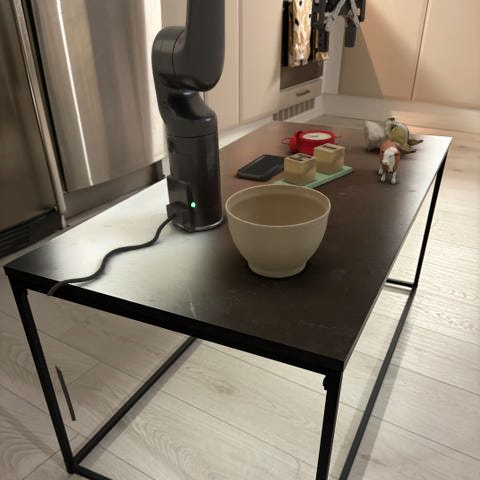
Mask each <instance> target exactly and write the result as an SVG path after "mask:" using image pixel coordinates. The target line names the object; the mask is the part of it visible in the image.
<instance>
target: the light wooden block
mask: <svg viewBox="0 0 480 480" xmlns="http://www.w3.org/2000/svg"><path fill="white" fill-rule="evenodd" d="M285 157H286V158H284V168H283V179H284V180H285V181H288V182H291V183H294V184H297V185H300V186H301V185H303V184H306V183H308V182H311V181H314V180H315V177H316V159H317V158H316V157H314V156H313V155H305V154H301V153H299V152H298V153H294V154H292V155H289V156H285Z"/></svg>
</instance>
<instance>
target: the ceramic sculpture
mask: <svg viewBox="0 0 480 480" xmlns="http://www.w3.org/2000/svg"><path fill="white" fill-rule="evenodd" d="M363 137H364V140H365V144H366V148H367V150H368V151H372V150H374V149H380V148H381V145H382V144H383V143H384V142H386V141H387V140H390V141H392V142H393V143H394V144H395V145H396V147H397V149H398V151H399V153H400V156H403V155H405V156H406V155H409V154H415V153H417V150H416V149H414V148H412V147H414V146H416V145H419V144H422V143H424V139H416V138H413V137H411V136H410V129H409V127H408V126H407V125H406V124H405V123H403V122H396V118H395V117H388V118H386V119H384V120H383V121H382V122H381V123H376V122H374V121H371V120H368V119H365V120H364V122H363Z"/></svg>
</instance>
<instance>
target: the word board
mask: <svg viewBox="0 0 480 480" xmlns="http://www.w3.org/2000/svg"><path fill="white" fill-rule="evenodd" d="M353 170H354V169H353V167H351V166H347V165H344V164H343V169H342V170H339V171H336V172H334V173H331V174H327V173H324V172H320V171H317V170H316V177H315V180H314V181H311V182H308V183H306V184H303V185H301V186H302V187H307V188H311V189H314V188H316V187H319V186H322V185H324V184H326V183H329V182H331V181H334V180H336V179H339V178H341V177H343V176H346V175H349V174H351V173H353ZM271 184H289V185H297V184H294V183H291V182H288V181H285V180H284V178H282V179H279V180H276V181H274V182H272V183H271ZM297 186H300V185H297Z"/></svg>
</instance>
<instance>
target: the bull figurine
mask: <svg viewBox="0 0 480 480" xmlns="http://www.w3.org/2000/svg"><path fill="white" fill-rule="evenodd" d="M400 159H401V155H400V153H399V151H398V149H397V147H396V145H395V144H394V143H393V142H392V141H390V140H387V141H386V142H384V143H383V144H382V145H381V148H379V162H380V163H379V164H380V165H379V166H380V167H379V170H378V173H377V174H378V175H381V178H380V182H385V181H386V173H387V172H388V173H391V175H392V177H391V181H390V183H391V184H397V181H396V175H397V170H398V165H399V164H400Z"/></svg>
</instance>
